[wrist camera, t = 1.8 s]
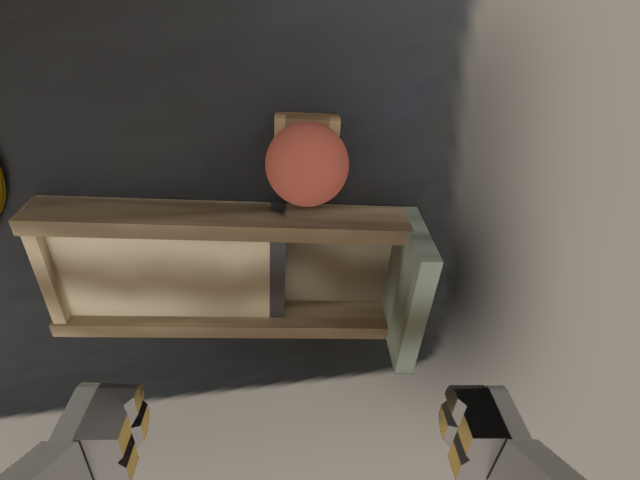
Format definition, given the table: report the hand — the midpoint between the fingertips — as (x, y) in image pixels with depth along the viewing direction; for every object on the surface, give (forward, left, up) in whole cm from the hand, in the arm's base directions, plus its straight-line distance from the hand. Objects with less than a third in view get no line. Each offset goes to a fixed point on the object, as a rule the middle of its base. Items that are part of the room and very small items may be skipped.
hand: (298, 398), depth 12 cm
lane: (+8, -4, -17) cm, 19 cm away
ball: (-1, +1, -14) cm, 14 cm away
